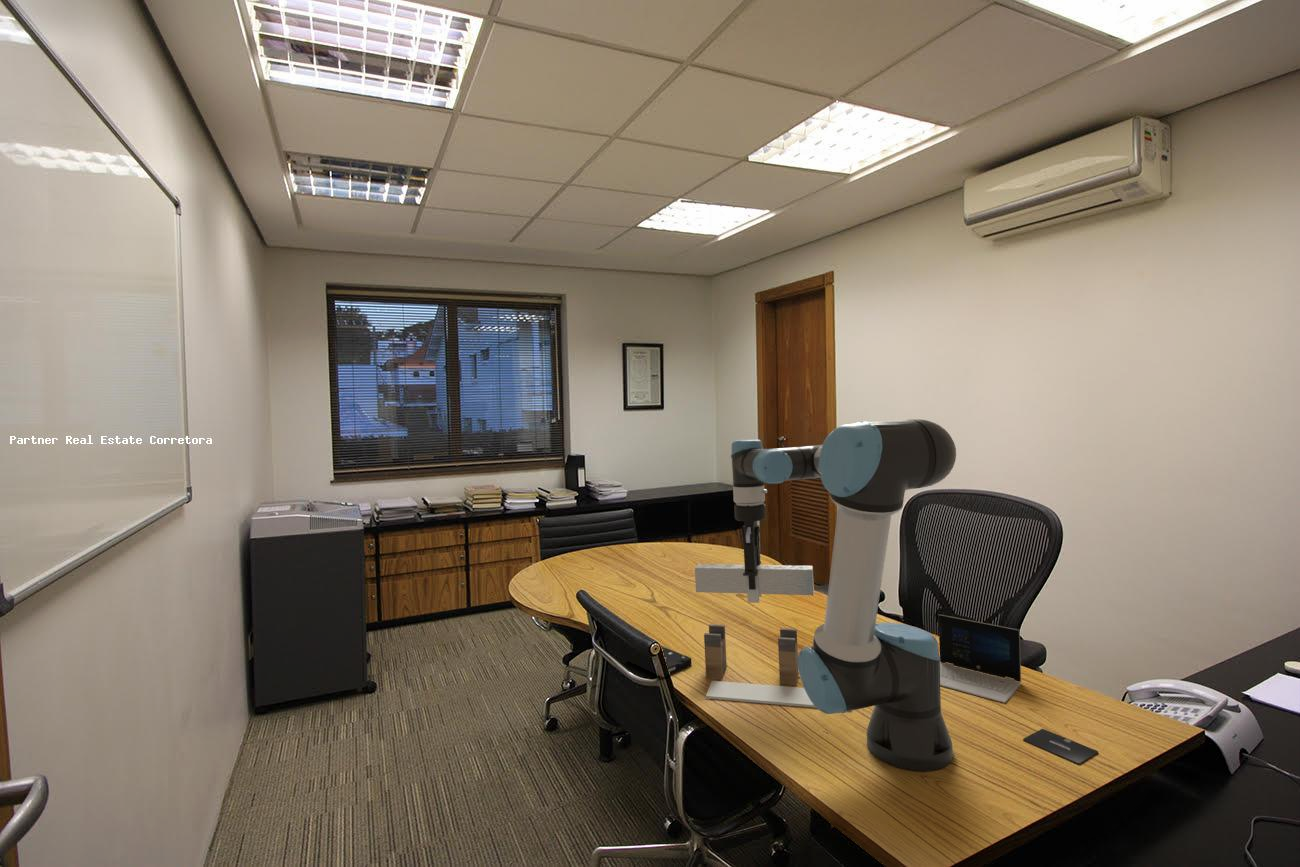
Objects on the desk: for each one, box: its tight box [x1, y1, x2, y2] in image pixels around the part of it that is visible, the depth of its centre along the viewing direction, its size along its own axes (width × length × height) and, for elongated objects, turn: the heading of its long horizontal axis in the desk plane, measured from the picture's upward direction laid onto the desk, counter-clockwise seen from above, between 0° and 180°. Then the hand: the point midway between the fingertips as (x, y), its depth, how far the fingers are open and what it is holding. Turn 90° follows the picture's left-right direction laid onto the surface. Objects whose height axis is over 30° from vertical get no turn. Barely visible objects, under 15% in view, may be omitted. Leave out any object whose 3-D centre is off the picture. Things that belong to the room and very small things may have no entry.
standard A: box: [777, 627, 799, 686], centre depth 150 cm, size 7×4×11 cm, turn 164°
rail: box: [694, 563, 815, 596], centre depth 149 cm, size 4×28×6 cm, turn 74°
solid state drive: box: [1022, 728, 1099, 766], centre depth 115 cm, size 7×10×1 cm
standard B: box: [703, 624, 728, 680], centre depth 155 cm, size 7×4×11 cm, turn 164°
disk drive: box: [661, 645, 692, 676], centre depth 162 cm, size 10×3×15 cm
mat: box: [705, 680, 817, 709], centre depth 141 cm, size 8×32×1 cm, turn 74°
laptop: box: [938, 614, 1022, 704], centre depth 143 cm, size 18×12×13 cm
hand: (754, 599), depth 149 cm, fingers closed on rail, 4 cm apart
